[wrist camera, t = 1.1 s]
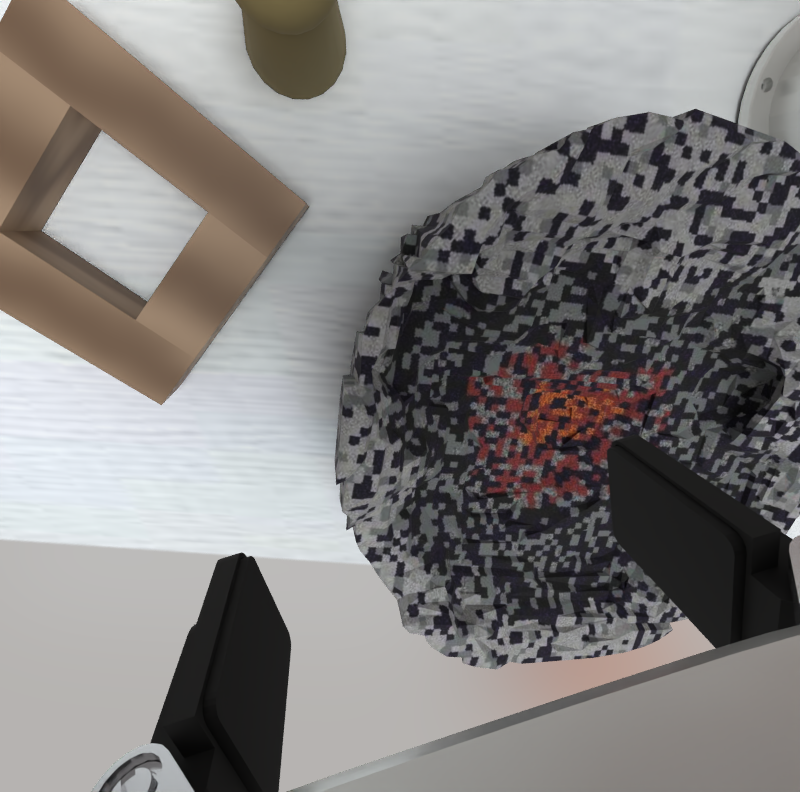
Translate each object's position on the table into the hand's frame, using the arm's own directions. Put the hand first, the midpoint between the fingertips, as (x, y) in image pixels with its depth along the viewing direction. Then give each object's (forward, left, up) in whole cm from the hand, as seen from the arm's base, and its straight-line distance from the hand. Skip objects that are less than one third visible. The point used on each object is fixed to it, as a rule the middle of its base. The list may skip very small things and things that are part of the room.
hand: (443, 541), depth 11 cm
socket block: (+4, -16, -24) cm, 30 cm away
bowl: (-5, +12, -25) cm, 28 cm away
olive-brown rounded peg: (-11, -15, -25) cm, 31 cm away
